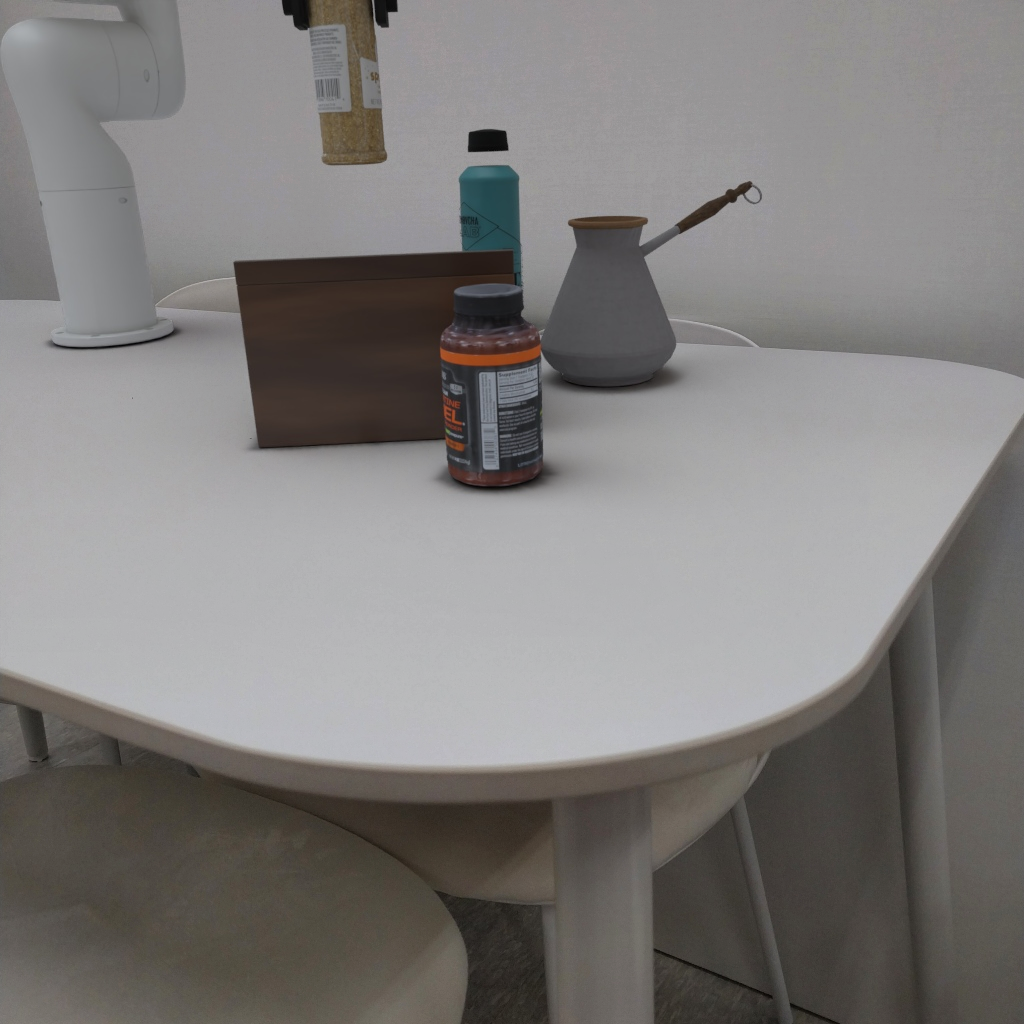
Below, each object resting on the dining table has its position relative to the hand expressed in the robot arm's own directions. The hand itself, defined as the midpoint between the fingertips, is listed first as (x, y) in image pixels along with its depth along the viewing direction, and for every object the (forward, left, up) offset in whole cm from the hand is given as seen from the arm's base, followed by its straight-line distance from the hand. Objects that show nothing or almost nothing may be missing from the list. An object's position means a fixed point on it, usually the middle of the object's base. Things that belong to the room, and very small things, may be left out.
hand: (342, 23), depth 63 cm
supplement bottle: (+15, +8, -27) cm, 32 cm away
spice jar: (0, 0, -9) cm, 9 cm away
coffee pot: (-11, +23, -27) cm, 37 cm away
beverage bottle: (-33, +10, -27) cm, 44 cm away
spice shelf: (-1, +1, -27) cm, 27 cm away
